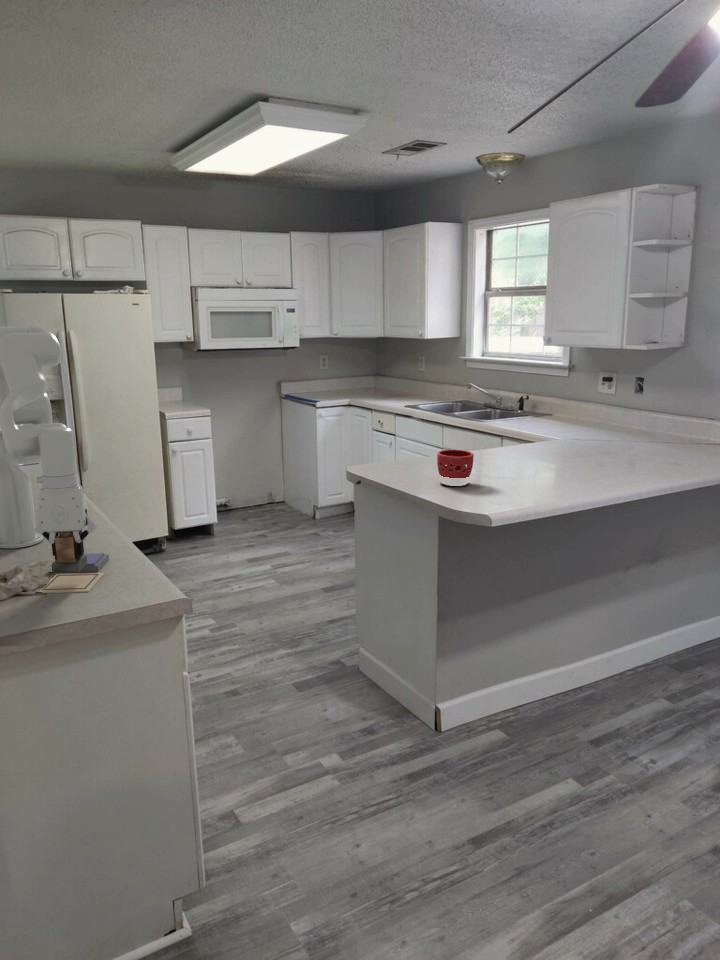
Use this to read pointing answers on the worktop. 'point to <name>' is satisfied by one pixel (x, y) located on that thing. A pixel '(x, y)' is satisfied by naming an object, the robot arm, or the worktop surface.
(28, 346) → the robot arm
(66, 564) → the stamp
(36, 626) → the worktop surface
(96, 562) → the ink pad
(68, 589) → the card
